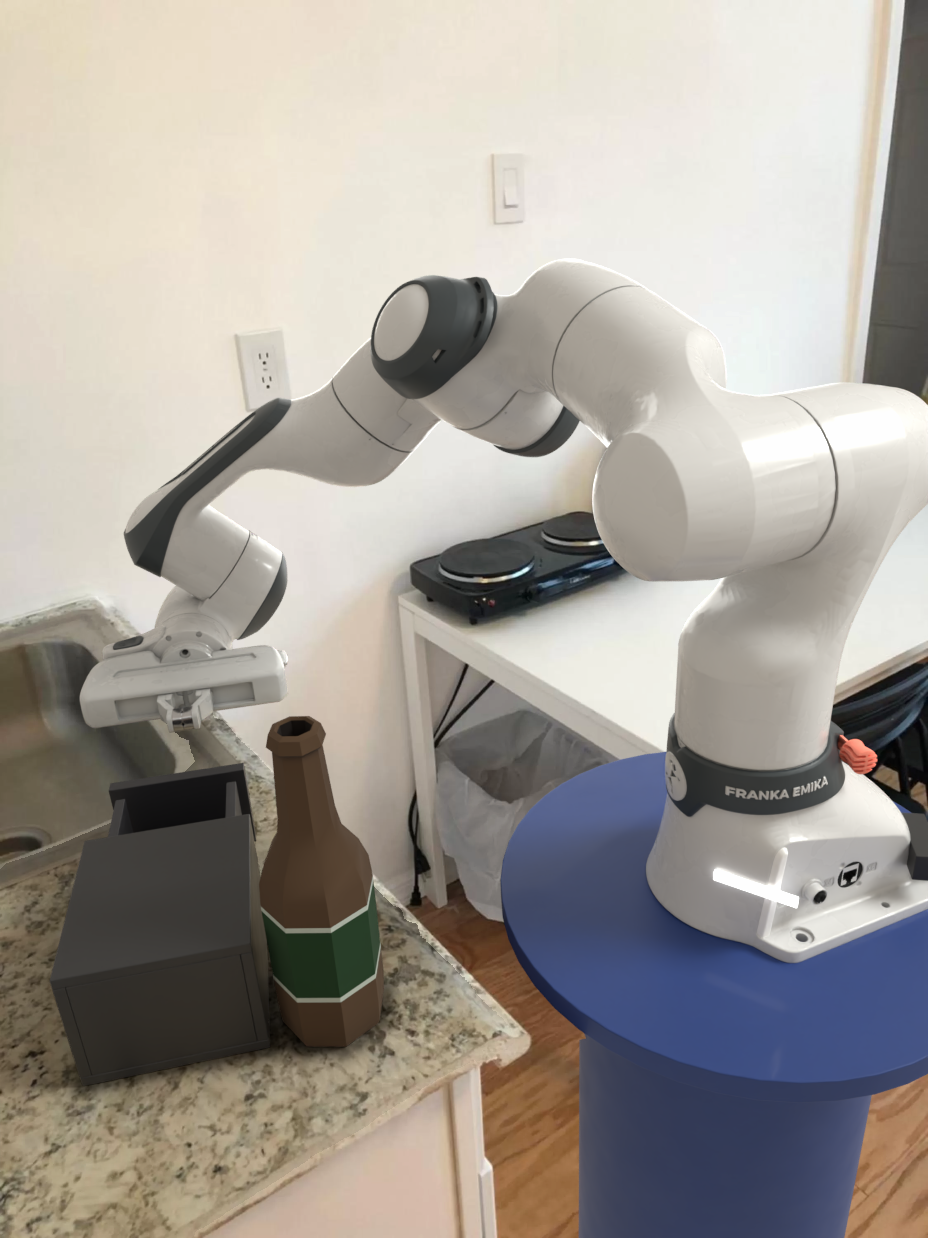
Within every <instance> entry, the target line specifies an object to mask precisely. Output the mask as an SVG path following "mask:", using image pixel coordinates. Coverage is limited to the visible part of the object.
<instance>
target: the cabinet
mask: <svg viewBox="0 0 928 1238" xmlns="http://www.w3.org/2000/svg"><path fill="white" fill-rule="evenodd" d="M255 842H256V841H254V836H253V830H252V824H251V819H250V814H246V815H239V816H233V817H227V818H221V819H215V820H209V821H203V822H197V823H191V824H185V825H179V826H173V827H166V828H160V829H154V830H148V831H142V832H136V833H130V834H124V835H118V836H112V837H108V836H107V837H100V838H95V839H87V840H84V841H83V845H82V850H81V854H80V859H79V862H78V865H77V870H76V873H75V878H74V882H73V886H72V890H71V893H70V897H69V902H68V906H67V909H66V914H65V918H64V922H63V925H62V929H61V933H60V937H59V940H58V946H57V950H56V953H55V954H56V955H55V957H54V961H53V966H52V970H51V973H50V978H49V984H50V988H51V990H52V993H53V998H54V1000H55V1003H56V1007H57V1010H58V1013H59V1016H60V1019H61V1023H62V1026H63V1029H64V1032H65V1036H66V1038H67V1039H66V1040H67V1042H68V1045H69V1047H70V1052H71V1054H72V1057H73V1061H74V1064H75V1067H76V1070H77V1074H78V1077H79V1079H80V1082H81V1086H82V1087H86V1086H90V1085H96V1084H100V1083H105V1082H110V1081H114V1080H119V1079H125V1078H129V1077H134V1076H138V1075H143V1074H148V1073H152V1072H158V1071H163V1070H168V1069H173V1068H177V1067H182V1066H186V1065H187V1066H188V1065H192V1064H196V1063H201V1062H205V1061H206V1062H207V1061H211V1060H215V1059H220V1058H226V1057H229V1056H236V1055H241V1054H245V1053H248V1052H249V1053H250V1052H253V1051H259V1050H264V1049H268V1048H270V1047H271V1023H270V992H269V960H268V959H269V958H268V955H269V953H268V945H267V939H266V934H265V928H264V922H263V917H262V911H261V905H260V892H259V882H260V878H261V871H260V864H259V859H258V853H257V847H256V843H255Z"/></svg>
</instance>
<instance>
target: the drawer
mask: <svg viewBox="0 0 928 1238" xmlns="http://www.w3.org/2000/svg"><path fill="white" fill-rule="evenodd" d="M108 795H109V798H110V803H111V806H112V815H111V816H112V817H111V821H110V825H109V829H108V834H107V837H112V836H118V835H124V834H130V833H136V832H142V831H148V830H154V829H160V828H166V827H173V826H179V825H185V824H191V823H197V822H203V821H209V820H215V819H221V818H227V817H233V816H239V815H246V814H250V819H251V824H252V830H253V836H254V841H255V842H257V831H256V824H255V819H254V813H253V808H252V802H251V796H250V790H249V784H248V778H247V774H246V768H245V762H238V763H233V764H226V765H219V766H213V767H208V768H200V769H193V770H188V771H180V772H174V773H168V774H162V775H161V774H160V775H156V776H147V777H142V778H137V779H129V780H123V781H116V782H110V783H109V786H108Z"/></svg>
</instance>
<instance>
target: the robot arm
mask: <svg viewBox="0 0 928 1238" xmlns="http://www.w3.org/2000/svg"><path fill="white" fill-rule="evenodd" d="M727 382H728V372H727V361H726V355H725V351H724V348H723V346H722V343H721V342H720V340H719V338H718V337H717V336H716V335H715V333H714V332H713V331H712V330H710V329H709V328H707V327H706V326H705V325H703V324H702V323H700V322H699V321H697V320H695V319H694V318H693V317H691V316H690V315H688V314H687V313H685V312H683V310H680V309H679V308H678V307H676V306H674V305H673V304H671V303H670V302H669V301H668V300H666V299H664V298H663V297H661V296H660V295H658V294H657V293H656V292H654V291H652V290H651V289H649V288H648V287H646V286H645V285H643V284H641V283H639V281H636V280H634V279H632V278H630V277H629V276H627V275H624V274H623V273H619V272H617V271H615V270H613V269H611V268H609V267H605V266H603V265H600V264H597V263H594V262H591V261H586V260H583V259H580V258H571V257H570V258H561V259H556V260H552V261H549V262H547V263H545V264H543V265H542V266H539V268H537V269H536V270H535V271H533V272H532V273H531V274H530V275H529V276H528V277H527V278H526V279H525V280H524V282H523V283H522V284H521V285H520V287H519V288H518V289H517V290H516V291H515V292H513V293H511V294H508V295H507V294H506V295H504V294H503V295H502V294H497V293H495V292H494V291H493V290H492V286H491V284H490V282H489V281H488V279H487V278H485V277H481V276H472V277H465V278H455V277H449V276H445V275H438V274H437V275H436V274H428V275H422V276H418V277H416V278H413V279H411V280H409V281H406V282H404V283H402V284H401V285H399V286H398V287H397V288H395V290H393V291H392V292H391V293H390V295H389V296H387V298H386V299H385V301H384V302H383V304H382V305H381V307H380V309H379V311H378V312H377V314H376V318H375V320H374V322H373V325H372V329H371V335H370V337H369V338H368V339H367V340H366V341H365V342H364V343H363V344H362V345H361V346H360V347H358V349H356V350H355V352H354V353H353V354H352V355H351V356H350V357H349V358H348V359H347V360H346V361H345V362H344V363H343V365H341V367H340V368H339V369H338V370H336V372H335V374H334V375H333V376H332V378H330V380H328V382H326V383H325V384H324V385H323V386H322V387H320V388H318V389H317V390H315V391H314V392H311V393H308V394H307V395H304V396H301V397H298V398H293V399H290V398H285V397H275V398H273V399H271V400H269V401H267V402H266V403H264V404H262V405H260V406H259V407H258V408H256V409H255V410H253V411H252V412H251V413H250V414H248V415H247V416H246V417H245V418H243V419H242V420H241V421H240V422H239V423H237V424H236V425H235V426H233V428H231V429H230V430H229V431H227V432H226V433H225V434H224V435H222V437H220V438H219V439H218V440H216V442H215V443H213V444H212V445H211V446H210V447H209V448H208V449H207V450H206V451H204V452H203V453H202V454H201V455H199V456H198V457H197V458H196V459H195V460H193V462H191V463H190V464H189V465H188V466H187V467H186V468H184V469H183V470H182V471H181V472H179V473H178V474H176V476H174V477H173V478H171V479H170V480H169V481H167V482H166V483H164V484H163V485H161V486H160V487H159V488H158V489H156V490H155V491H153V492H152V493H150V494H149V495H148V496H146V497H145V498H144V499H142V501H141V502H140V503H138V505H137V506H136V507H135V509H134V510H133V512H132V513H131V514H130V516H129V519H128V521H127V523H126V526H125V529H124V531H123V539H124V542H125V543H124V544H125V546H126V549H127V552H128V554H129V557H130V559H131V561H132V563H133V565H134V566H136V567H137V568H140V569H142V570H143V571H146V572H148V573H149V574H152V575H154V576H156V577H159V578H163V579H165V580H166V581H168V582H170V583H171V584H173V585H175V586H173V587H172V589H171V590H170V591H169V592H168V593H167V595H166V597H165V599H164V600H163V602H162V604H161V605H160V608H159V610H158V612H157V615H156V619H155V623H154V628H153V629H151V630H148V631H146V632H143V633H141V634H138V635H136V636H133V637H130V638H126V639H122V640H120V641H116V642H111V643H109V644H107V645H105V646H104V647H103V648H102V650H101V654H102V655H101V656H102V660H101V661H99V662H98V663H97V664H95V665H94V666H93V667H92V668H91V670H90V671H89V673H88V674H87V676H86V677H85V680H84V682H83V685H82V687H81V690H80V693H79V705H80V709H81V714H82V717H83V721H84V723H85V725H87V726H88V727H90V728H92V729H102V728H106V727H107V728H108V727H114V726H121V725H122V726H123V725H129V724H135V723H142V722H148V721H149V722H150V721H155V720H160V721H162V722H163V723H165V724H166V726H167V729H168V734H171V733H178V732H183V731H191V730H199V729H201V723H202V721H204V720H206V718H208V717H209V716H210V715H212V714H213V713H214V712H219V711H226V710H233V709H239V708H246V707H252V706H261V705H267V704H268V705H269V704H274V703H280V702H281V701H283V700H285V698H287V696H288V695H289V690H288V680H287V675H286V667H287V666H288V663H289V657H288V654H287V651H286V650H283V649H281V650H280V649H276V647H274V646H272V645H269V644H267V645H266V644H262V645H261V644H260V645H253V646H245V647H237V648H233V642H234V641H235V640H236V641H241V640H244V639H246V638H248V637H250V636H253V635H254V634H256V633H258V632H259V631H260V630H261V629H263V628H264V626H265V625H266V624H267V623H268V622H269V621H270V619H271V618H272V617H273V616H274V615H275V614H276V611H277V610H278V608H279V607H280V605H281V602H282V601H283V599H284V596H285V594H286V590H287V587H288V566H287V565H288V564H287V559H286V557H285V555H284V553H283V551H281V550H280V549H278V548H276V547H275V546H274V545H273V544H271V543H270V542H268V541H267V540H266V539H263V538H262V537H261V536H259V535H257V534H256V533H254V532H253V531H252V530H249V529H247V528H246V527H244V526H242V525H241V524H239V523H237V522H236V521H235V520H234V519H232V518H230V517H229V516H227V515H225V514H224V513H222V512H221V511H219V510H218V509H215V508H214V507H213V506H212V505H211V504H212V503H213V502H214V501H216V500H217V499H218V498H219V497H221V495H223V494H224V493H225V492H226V491H227V490H228V489H229V488H231V487H232V486H233V485H235V484H236V483H237V482H238V481H239V480H241V479H242V478H243V477H244V476H246V475H247V474H249V473H251V472H256V471H261V470H269V471H279V472H285V473H289V474H294V475H297V476H298V475H299V476H302V477H305V478H308V479H311V480H315V481H317V482H320V483H323V484H327V485H330V486H336V487H340V488H341V487H342V488H362V487H368V486H372V485H376V484H378V483H381V482H382V481H383V480H385V479H386V478H388V477H389V476H390V475H392V474H393V473H394V472H395V471H396V470H397V469H399V468H400V467H401V466H402V465H403V464H404V463H405V462H406V461H407V459H409V458H410V457H411V456H412V454H413V453H414V452H415V451H416V450H417V449H418V448H419V447H420V445H421V444H422V443H423V442H424V440H426V439H427V437H428V436H429V435H430V433H432V431H433V430H434V429H435V427H437V425H439V424H440V423H441V422H444V423H446V424H448V425H450V426H451V427H453V428H455V429H457V430H459V431H460V432H461V433H464V434H467V435H468V436H471V437H473V438H475V439H478V440H480V441H483V442H485V443H488V444H491V445H492V446H494V448H496V449H497V450H499V451H501V452H504V453H506V454H510V455H514V456H518V457H523V458H541V457H545V456H548V455H551V454H552V453H554V452H555V451H557V450H558V449H560V448H562V446H563V445H564V444H565V443H566V442H568V440H569V439H570V438H571V437H572V435H573V434H574V432H575V431H576V429H577V427H578V426H579V424H580V423H582V424H583V425H584V426H585V428H587V430H589V431H590V432H591V433H592V434H593V435H594V437H596V438H597V439H598V440H599V441H600V443H602V444H603V445H604V446H605V450H604V452H603V454H602V456H601V458H600V461H599V463H598V464H597V468H596V471H595V476H594V479H593V483H592V484H593V485H592V494H591V495H592V496H591V499H592V500H591V503H592V504H591V506H592V512H593V513H592V514H593V518H594V523H595V526H596V530H597V532H598V535H599V537H600V539H601V541H602V543H603V545H604V547H605V548H606V550H607V551H608V552H609V554H610V555H611V557H612V558H613V559H614V560H615V562H616V563H617V564H619V566H620V567H622V568H623V569H624V570H625V571H626V572H627V573H629V574H630V575H631V576H633V577H635V578H637V579H639V580H641V581H646V582H656V583H657V582H658V583H659V582H661V583H663V582H665V583H666V582H700V581H702V582H703V581H715V580H719V579H720V580H719V581H718V583H717V584H716V586H715V587H714V588H713V590H712V591H711V592H710V593H709V594H708V595H707V597H705V598H704V599H703V600H702V601H701V602H700V603H699V604H698V605H696V607H695V608H694V610H692V612H691V613H690V614H689V616H688V617H687V619H686V621H685V623H684V625H683V627H682V629H681V632H680V635H679V637H678V644H677V646H678V647H677V660H676V661H677V662H676V663H677V665H676V681H675V699H674V700H675V701H674V712H673V714H672V715H671V717H670V718H669V719H670V720H669V721H668V729H667V741H666V750H665V752H666V758H665V779H666V790H667V797H666V803H665V807H664V812H663V817H662V821H661V824H660V828H659V832H658V835H657V838H656V841H655V843H654V846H653V848H652V850H651V852H650V854H649V857H648V859H647V863H646V877H647V881H648V884H649V886H650V889H651V891H652V892H653V894H654V896H655V897H656V898H657V900H658V901H659V902H660V903H661V904H662V906H663V907H665V908H666V909H667V910H668V911H669V912H670V913H671V914H673V915H674V916H675V917H676V918H678V919H679V920H681V921H683V922H684V923H686V924H688V925H690V926H691V927H693V928H695V929H698V930H700V931H702V932H705V933H707V934H710V935H713V936H716V937H720V938H724V939H728V940H732V941H737V942H741V943H745V944H748V945H751V946H753V947H755V948H757V949H758V950H760V951H762V952H764V953H766V954H768V955H770V956H772V957H774V958H776V959H778V960H780V961H783V962H787V963H799V962H802V961H804V960H807V959H809V958H812V957H814V956H816V955H819V954H821V953H824V952H826V951H828V950H831V949H833V948H836V947H838V946H840V945H843V944H845V943H848V942H850V941H852V940H855V939H857V938H860V937H862V936H864V935H867V934H869V933H872V932H874V931H876V930H879V929H881V928H884V927H886V926H888V925H891V924H893V923H896V922H898V921H900V920H903V919H905V918H908V917H910V916H912V915H915V914H917V913H920V912H922V911H924V910H927V909H928V820H927V817H926V815H925V813H915V812H911V813H903V812H900V810H899V809H898V808H897V806H896V805H895V804H894V802H895V801H893V800H892V799H891V798H890V796H888V795H887V794H886V793H885V791H884V790H882V789H881V788H880V787H879V786H878V785H877V784H876V783H875V782H874V781H872V780H871V779H869V778H868V777H867V776H866V775H865V774H868V773H870V772H872V771H873V768H875V767H876V766H877V763H878V755H877V754H876V752H875V751H874V750H872V749H871V748H869V747H867V746H865V744H864V742H863V740H860V739H858V738H852V739H848V738H846V737H845V736H844V734H845V731H844V730H843V729H842V728H840V726H838V724H836V723H835V722H834V721H832V713H833V708H834V707H833V706H834V700H835V695H836V687H837V683H838V677H839V671H840V666H841V662H842V661H841V660H842V657H843V652H844V648H845V645H846V643H847V640H848V636H849V633H850V630H851V628H852V626H853V623H854V621H855V618H856V616H857V614H858V612H859V610H860V607H861V605H862V602H863V601H864V598H865V596H866V594H867V592H868V591H869V589H870V587H871V585H872V582H873V581H874V578H875V577H876V574H877V573H878V571H879V569H880V567H881V565H882V564H883V562H884V560H885V558H886V556H887V555H888V553H889V551H890V550H891V548H892V546H893V545H894V543H895V542H896V541H897V539H898V537H899V536H900V534H901V533H902V532H903V531H904V530H905V528H906V527H907V526H908V525H909V523H911V522H912V520H914V518H915V517H916V516H917V515H918V514H919V513H920V512H921V511H922V510H923V509H924V508H925V507H927V505H928V404H927V403H926V402H925V400H923V399H922V398H921V397H920V396H918V395H917V394H915V393H913V392H911V391H909V390H906V389H904V388H900V387H895V386H888V385H881V384H876V383H875V384H874V383H862V382H849V381H842V382H832V383H827V384H821V385H816V386H809V387H805V388H798V389H793V390H787V391H782V392H781V391H780V392H776V393H770V394H749V393H742V392H737V391H732V390H729V389H727ZM800 941H802V942H800Z"/></svg>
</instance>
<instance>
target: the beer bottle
mask: <svg viewBox="0 0 928 1238" xmlns="http://www.w3.org/2000/svg"><path fill="white" fill-rule="evenodd" d="M326 735H327V732H326V731H325V728H324V726H323V725H322V723H321V722H320V721H319V720H317V719H315V718H314V717H312V716H310V715H291V716H286V717H285V718H283V719H281V720H278V721H276V722H274V723H272V724H271V726H270V728H269V731H268V733H267V737H266V743H265V744H266V745H265V748H266V749H267V750H268V751H270V752H271V759H272V770H273V784H274V793H275V794H274V795H275V806H276V815H277V816H276V818H277V819H276V821H277V823H276V833H275V835H274V836H273V838H272V839H271V842H270V845H269V848H268V850H267V854H266V857H265V859H264V862H263V866H262V869H261V873H260V875H261V878H260V882H259V892H260V905H261V911H262V917H263V922H264V928H265V934H266V939H267V951H268V955H269V961H270V967H271V973H272V978H273V984H274V989H275V994H276V995H275V996H276V1000H277V1005H278V1009H279V1012H280V1017H281V1020H282V1022H283V1023H284V1025H286V1026H287V1027H288V1028H289V1030H291V1032H293V1034H295V1036H297V1038H298V1039H299V1040H300V1041H301V1042H302V1043H303V1044H304V1045H305V1046H306V1047H308V1048H309V1047H310V1048H311V1047H313V1048H314V1047H315V1048H319V1047H321V1048H324V1047H325V1048H327V1047H328V1048H330V1047H331V1048H332V1047H333V1048H334V1047H335V1048H336V1047H340V1048H342V1047H346V1048H347V1047H348V1046H350V1045H352V1043H354V1042H355V1041H356V1040H358V1039H359V1038H360V1037H362V1036H364V1035H365V1034H366V1033H367V1032H368V1031H370V1030H371V1029H373V1028H375V1026H377V1025H378V1024H379V1022H380V1019H381V1013H382V1007H383V999H384V993H385V973H384V972H385V971H384V962H383V954H382V944H381V935H380V925H379V917H378V909H377V901H376V891H375V881H374V873H373V870H372V864H371V859H370V855H369V853H368V851H367V849H366V848H365V847H364V845H363V843H362V841H361V840H360V838H359V837H358V836H356V835H355V834H354V833H353V831H351V830H349V828H347V827H346V826H345V825H344V824H343V822H342V821H341V817H340V815H339V813H338V810H337V807H336V804H335V798H334V794H333V788H332V784H331V780H330V775H329V770H328V765H327V759H326V755H325V750H324V741H325V739H326Z"/></svg>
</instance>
